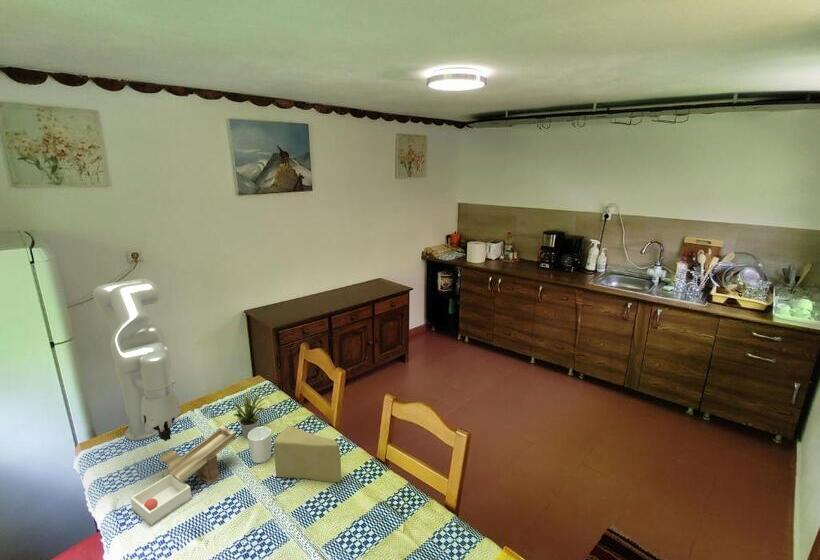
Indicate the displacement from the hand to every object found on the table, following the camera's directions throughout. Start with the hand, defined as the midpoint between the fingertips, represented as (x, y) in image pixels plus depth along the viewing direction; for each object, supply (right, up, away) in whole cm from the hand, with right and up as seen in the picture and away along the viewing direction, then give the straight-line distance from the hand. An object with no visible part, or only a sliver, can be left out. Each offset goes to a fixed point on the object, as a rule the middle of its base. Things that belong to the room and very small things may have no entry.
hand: (165, 438), depth 134 cm
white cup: (+27, -12, +13) cm, 32 cm away
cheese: (+47, -15, +6) cm, 50 cm away
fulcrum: (+12, -14, +4) cm, 19 cm away
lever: (+9, -7, +4) cm, 12 cm away
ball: (+3, -16, -12) cm, 20 cm away
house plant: (+19, -8, +25) cm, 33 cm away
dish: (+4, -17, -8) cm, 19 cm away
